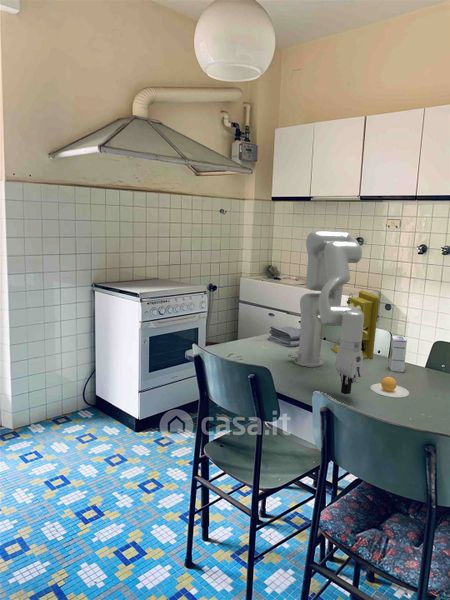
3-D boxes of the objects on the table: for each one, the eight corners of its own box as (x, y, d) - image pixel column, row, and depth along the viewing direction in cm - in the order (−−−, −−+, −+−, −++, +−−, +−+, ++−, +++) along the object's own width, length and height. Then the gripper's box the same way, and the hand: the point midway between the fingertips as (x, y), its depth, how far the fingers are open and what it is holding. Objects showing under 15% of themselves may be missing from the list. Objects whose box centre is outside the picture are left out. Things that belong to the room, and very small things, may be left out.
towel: (290, 348, 225) (291, 333, 224) (266, 340, 240) (267, 325, 239) (311, 345, 234) (312, 330, 233) (287, 336, 249) (288, 322, 247)
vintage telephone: (324, 344, 236) (328, 287, 230) (349, 343, 238) (354, 287, 233) (349, 363, 205) (355, 298, 200) (378, 362, 208) (385, 298, 202)
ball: (387, 375, 170) (399, 376, 172) (377, 377, 175) (389, 378, 177) (388, 390, 168) (400, 391, 170) (378, 391, 173) (390, 392, 175)
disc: (374, 395, 167) (374, 395, 167) (367, 382, 181) (367, 382, 181) (414, 399, 166) (414, 398, 166) (403, 385, 180) (403, 384, 180)
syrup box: (404, 372, 196) (408, 339, 193) (389, 370, 197) (393, 338, 194) (401, 368, 201) (405, 336, 199) (387, 366, 202) (391, 335, 200)
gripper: (373, 349, 156) (367, 399, 160) (345, 338, 170) (341, 385, 173) (355, 351, 153) (350, 402, 157) (328, 340, 167) (324, 387, 170)
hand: (345, 393), depth 165 cm, fingers closed
